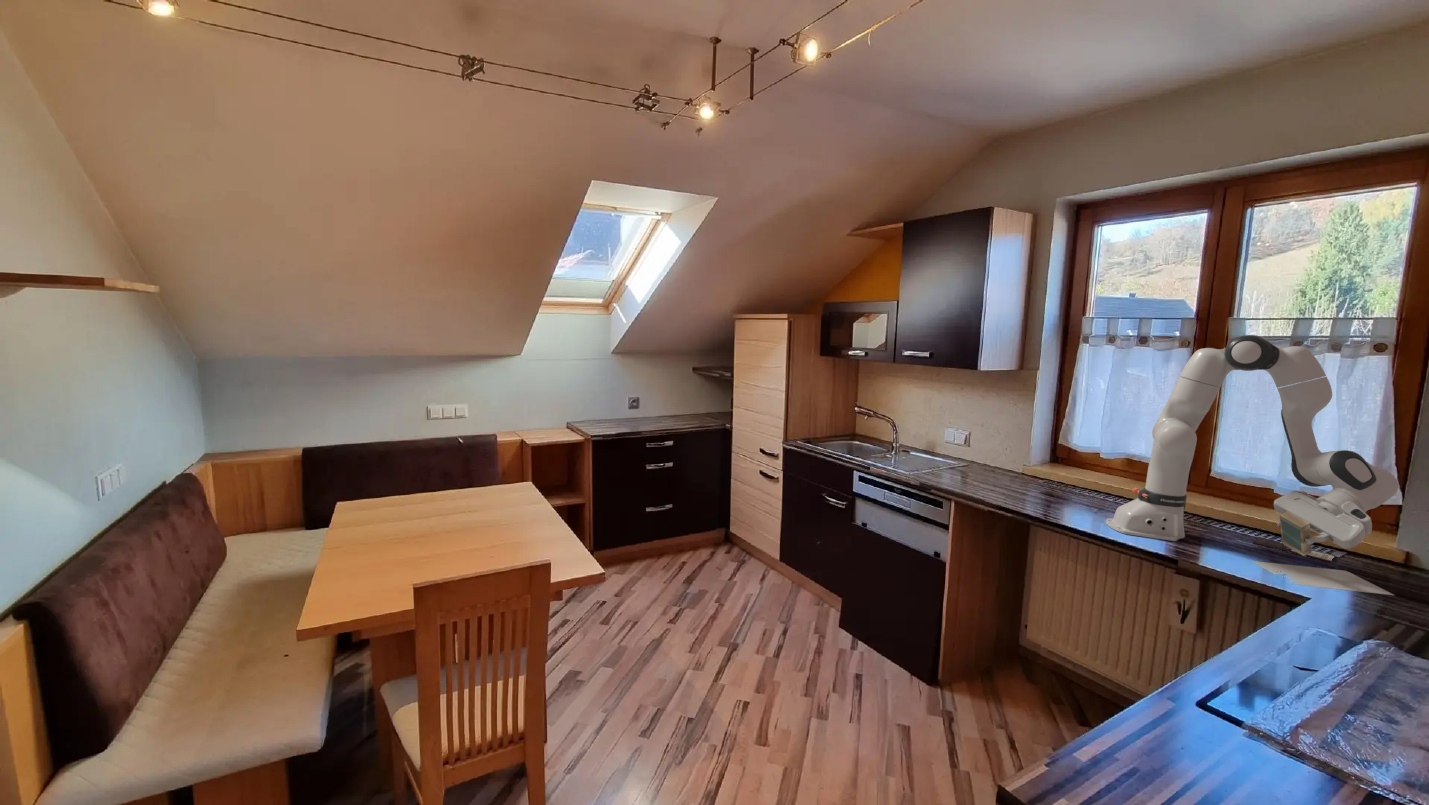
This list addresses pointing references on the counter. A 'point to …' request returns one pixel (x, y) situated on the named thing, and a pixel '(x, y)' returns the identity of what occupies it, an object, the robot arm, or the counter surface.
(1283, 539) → the birch box
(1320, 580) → the mat
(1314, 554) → the chocolate bar
